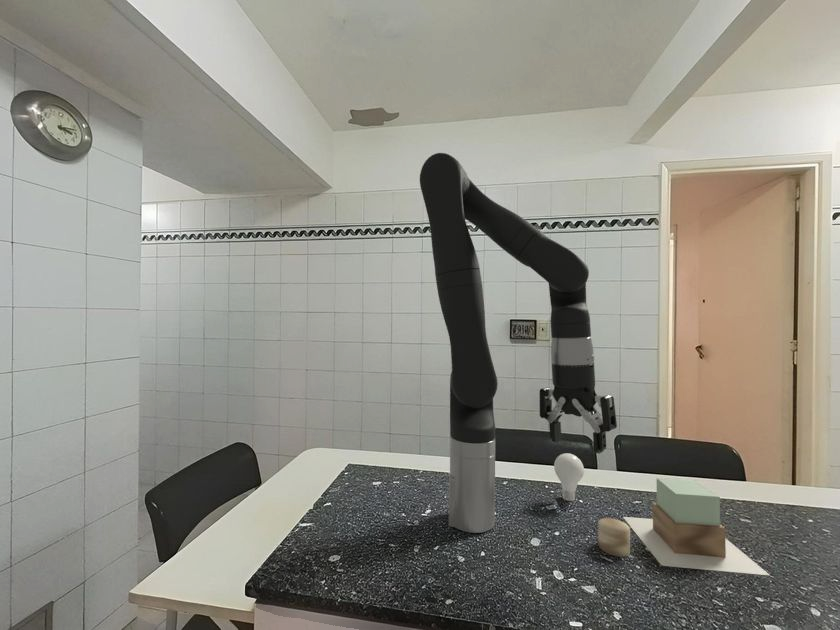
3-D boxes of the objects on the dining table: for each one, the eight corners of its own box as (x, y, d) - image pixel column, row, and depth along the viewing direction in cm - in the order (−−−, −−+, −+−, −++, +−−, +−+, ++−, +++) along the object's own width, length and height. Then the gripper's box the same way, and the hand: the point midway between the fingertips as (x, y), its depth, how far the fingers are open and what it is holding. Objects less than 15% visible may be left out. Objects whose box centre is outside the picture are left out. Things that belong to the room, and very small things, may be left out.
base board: (661, 571, 62) (661, 565, 62) (622, 521, 78) (622, 516, 78) (770, 581, 59) (770, 575, 60) (707, 528, 75) (707, 523, 75)
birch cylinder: (604, 561, 64) (603, 531, 64) (594, 544, 69) (594, 517, 69) (635, 564, 64) (634, 534, 64) (623, 547, 69) (623, 519, 69)
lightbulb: (586, 510, 82) (586, 460, 82) (556, 507, 83) (556, 457, 84) (580, 497, 88) (580, 450, 88) (552, 495, 89) (552, 448, 90)
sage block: (676, 522, 66) (675, 493, 66) (656, 504, 73) (656, 477, 73) (720, 526, 65) (719, 496, 65) (696, 506, 72) (695, 480, 72)
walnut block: (674, 553, 65) (674, 523, 65) (652, 528, 73) (652, 502, 73) (725, 557, 64) (725, 527, 64) (697, 532, 72) (697, 505, 72)
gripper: (528, 361, 75) (533, 442, 74) (599, 365, 63) (604, 462, 63) (550, 357, 79) (555, 434, 79) (620, 361, 68) (625, 451, 67)
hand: (577, 446), depth 71 cm, fingers open, 8 cm apart
